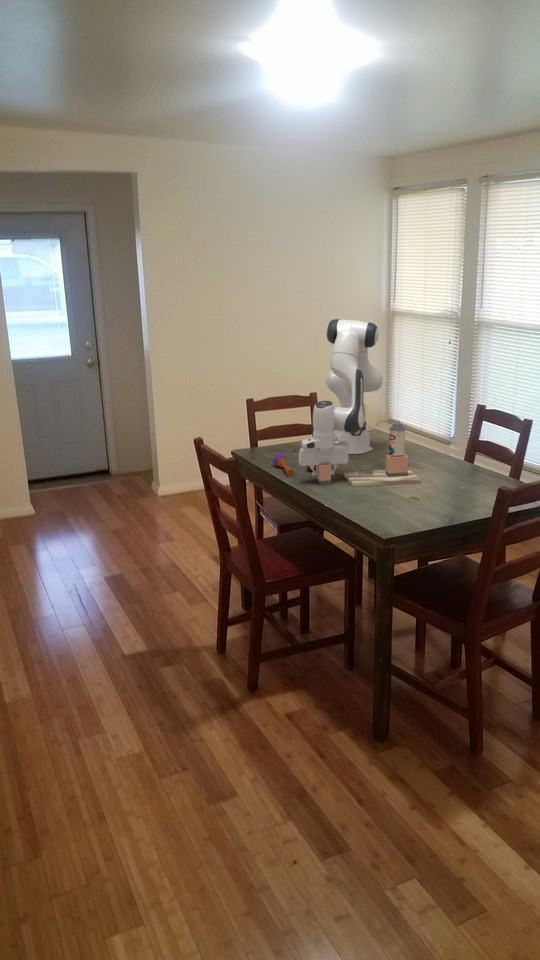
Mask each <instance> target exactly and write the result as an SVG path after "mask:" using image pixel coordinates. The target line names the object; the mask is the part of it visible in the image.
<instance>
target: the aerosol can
mask: <svg viewBox="0 0 540 960" xmlns="http://www.w3.org/2000/svg"><path fill="white" fill-rule="evenodd" d="M388 432H389V434H388V436H389V437H388V440H389V441H388V455H400V454H406V452H405V450H406V449H405V446H406V427H404V426H403V424H401V423H400V420H395V423H393V424H392V425H391V426H390V427H389V431H388Z"/></svg>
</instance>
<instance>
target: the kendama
mask: <svg viewBox="0 0 540 960" xmlns="http://www.w3.org/2000/svg"><path fill="white" fill-rule="evenodd" d="M272 462H273V464H274V466H276V467H277V466H278V467H277V468H283V469H284V472H285V473H286V476H287V477H288V476H290V477H294V476H295V470H293V468H291V467H290V466H288V465H287V462H288V458H287V457H286V455H285V454H284V453H277V454H275V455H274V457H273V459H272Z"/></svg>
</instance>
